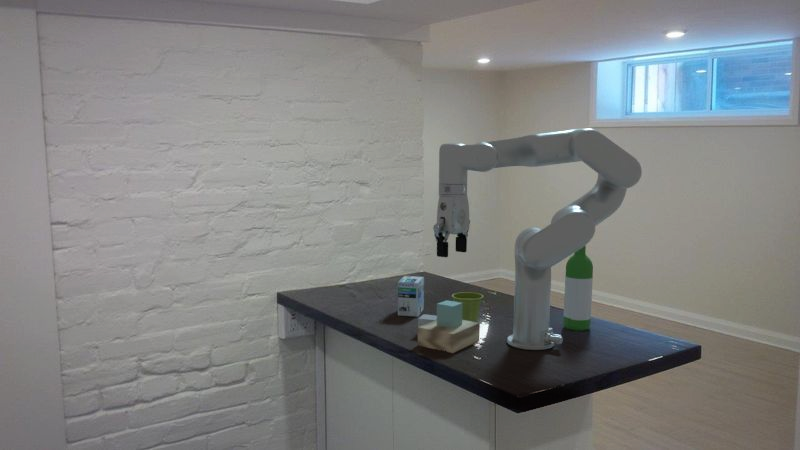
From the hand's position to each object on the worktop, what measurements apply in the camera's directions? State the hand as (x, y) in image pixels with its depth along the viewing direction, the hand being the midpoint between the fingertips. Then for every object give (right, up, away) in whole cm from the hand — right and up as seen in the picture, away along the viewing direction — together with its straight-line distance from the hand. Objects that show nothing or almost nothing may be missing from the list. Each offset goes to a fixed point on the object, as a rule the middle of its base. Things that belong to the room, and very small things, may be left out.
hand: (451, 254), depth 189 cm
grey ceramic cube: (-6, -23, +11) cm, 26 cm away
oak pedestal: (-1, -24, +3) cm, 24 cm away
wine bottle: (+38, -23, +19) cm, 48 cm away
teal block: (-1, -19, +2) cm, 19 cm away
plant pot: (+6, -22, +22) cm, 32 cm away
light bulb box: (-10, -20, +35) cm, 42 cm away
